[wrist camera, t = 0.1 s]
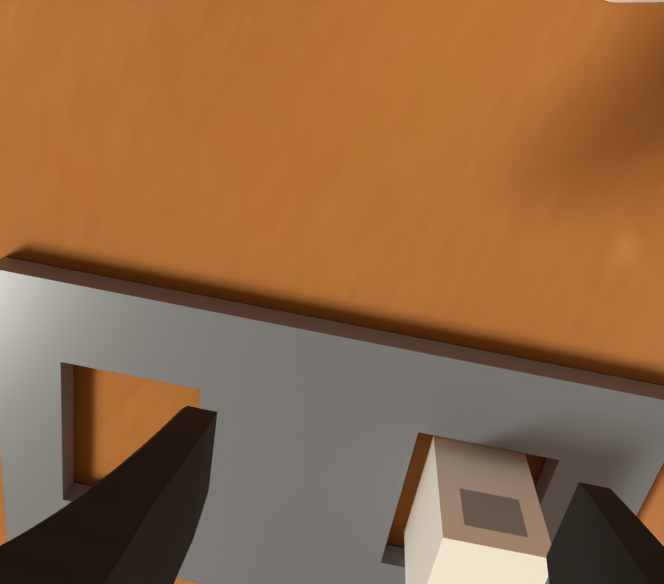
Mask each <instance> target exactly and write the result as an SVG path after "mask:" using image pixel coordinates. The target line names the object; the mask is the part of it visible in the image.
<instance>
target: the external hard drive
mask: <svg viewBox="0 0 664 584" xmlns="http://www.w3.org/2000/svg"><path fill="white" fill-rule="evenodd" d="M606 1H610V2H664V0H606Z"/></svg>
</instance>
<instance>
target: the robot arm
mask: <svg viewBox="0 0 664 584" xmlns="http://www.w3.org/2000/svg"><path fill="white" fill-rule="evenodd" d="M216 420H217V412H216V411H211V410H206V409H200V408H195V407H190V406H186V407H185V408H183V409H181V410H180V411H179V412H178V413H177V414H176V415H175V416H174V417H173V418H172V419H171V420H170V421H169V422H168V423H167V424H166V425H165V426H164V427H163V428H162V429H161V430H160V431H158V432H157V433H156V434H155V435H154V436H153V437H152V438H151V439H150V440H149V441H147V442H146V443H145V444H144V445H143V446H142V447H141V448H139V449H138V450H137V451H136V452H135V453H134V454H132V455H131V456H130V457H129V458H128V459H126V460H125V461H124V462H123V463H122V464H121V465H119V466H118V467H117V468H116V469H114V470H113V471H112V472H111V473H109V474H108V475H107V476H105V477H104V478H103V479H102V480H100V481H99V482H98V483H96V484H95V485H94V486H92V487H91V488H90V489H88V490H87V491H86V492H84V493H83V494H82V495H80V496H79V497H78V498H76V499H75V500H73V501H72V502H70V503H69V504H67V505H66V506H65V507H63V508H62V509H60V510H59V511H57V512H56V513H54V514H53V515H51V516H50V517H48V518H46V519H45V520H43V521H42V522H40V523H38V524H37V525H35V526H34V527H32V528H30V529H29V530H27V531H25V532H24V533H22V534H20V535H18V536H17V537H15V538H13V539H12V540H10V541H8V542H6V543H5V544H3V545H1V546H0V584H174V582H175V579H176V577H177V575H178V573H179V570H180V568H181V566H182V564H183V561H184V559H185V557H186V555H187V552H188V550H189V548H190V545H191V543H192V541H193V538H194V535H195V532H196V529H197V526H198V523H199V520H200V517H201V514H202V511H203V507H204V504H205V501H206V498H207V494H208V491H209V483H210V474H211V465H212V456H213V447H214V438H215V429H216ZM546 561H547V569H548V578H549V584H664V546H663V545H662V544H661V543H660V542H659V541H658V540H657V539H656V538H655V536H654V535H653V534H652V533H651V532H650V531H649V530H648V529H647V528H646V526H645V525H644V524H643V523H642V522H641V521H640V520H639V519H638V518H637V516H636V515H635V514H634V513H633V512H632V511H631V510H630V509H629V508H628V507H627V505H626V504H625V503H624V502H623V501H622V500H621V499H620V498H619V497H618V496H617V495H616V494H615V493H614V492H613V491H612V490H611V489H610V488H607V487H601V486H596V485H591V484H586V483H581V482H579V483H578V485H577V488H576V490H575V492H574V494H573V497H572V499H571V501H570V503H569V506H568V508H567V510H566V513H565V515H564V517H563V519H562V522H561V524H560V526H559V528H558V531H557V533H556V535H555V538H554V540H553V542H552V544H551V547H550V549H549V551H548V553H547V556H546Z"/></svg>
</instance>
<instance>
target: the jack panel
mask: <svg viewBox="0 0 664 584" xmlns="http://www.w3.org/2000/svg"><path fill="white" fill-rule="evenodd" d="M73 364H74V365H79V366H84V367H89V368H94V369H99V370H104V371H110V372H115V373H120V374H125V375H130V376H135V377H140V378H145V379H150V380H155V381H160V382H165V383H171V384H176V385H181V386H186V387H191V388H196V389H201V390H200V400H199V408H200V409H206V410H211V411H216V412H217V420H216V429H215V438H214V447H213V456H212V465H211V474H210V483H209V491H208V494H207V498H206V501H205V504H204V507H203V511H202V514H201V517H200V520H199V523H198V526H197V529H196V532H195V535H194V538H193V541H192V543H191V545H190V548H189V550H188V552H187V555H186V557H185V559H184V561H183V564H182V566H181V568H180V570H179V573H178V575H177V577H176V579H182V580H187V581H192V582H197V583H202V584H405V548H402V547H397V546H392V545H387V544H386V542H387V539H388V536H389V532H390V529H391V525H392V522H393V518H394V515H395V511H396V508H397V504H398V501H399V498H400V494H401V491H402V487H403V484H404V480H405V477H406V473H407V470H408V466H409V463H410V459H411V456H412V453H413V449H414V446H415V442H416V439H417V435H418V432H420V433H425V434H430V435H435V436H440V437H445V438H450V439H455V440H460V441H465V442H470V443H475V444H481V445H486V446H491V447H496V448H501V449H506V450H511V451H516V452H521V453H526V454H531V455H536V456H542V457H547V458H546V461H545V463H544V466H543V468H542V471H541V473H540V476H539V478H538V480H537V483H536V485H535V490H536V493H537V497H538V500H539V503H540V507H541V510H542V514H543V517H544V521H545V524H546V527H547V531H548V534H549V538H550V541H551V544H552V542H553V540H554V538H555V535H556V533H557V531H558V528H559V526H560V524H561V522H562V519H563V517H564V515H565V513H566V510H567V508H568V506H569V503H570V501H571V499H572V497H573V494H574V492H575V490H576V488H577V485H578V483H579V482H581V483H586V484H591V485H596V486H601V487H607V488H610V489H611V490H612V491H613V492H614V493H615V494H616V495H617V496H618V497H619V498H620V499H621V500H622V501H623V502H624V503H625V504H626V505H627V507H628V508H629V509H630V510H631V511H632V512H633V513H634V514H635V515H636V516H637V514H638V512H639V510H640V508H641V506H642V504H643V502H644V500H645V498H646V496H647V494H648V492H649V490H650V488H651V486H652V484H653V482H654V480H655V479H656V477H657V475H658V473H659V471H660V469H661V467H662V465H663V463H664V386H663V385H657V384H652V383H647V382H642V381H637V380H632V379H627V378H622V377H617V376H611V375H606V374H601V373H596V372H591V371H586V370H581V369H576V368H571V367H566V366H560V365H555V364H550V363H545V362H540V361H535V360H530V359H525V358H520V357H514V356H509V355H504V354H499V353H494V352H489V351H484V350H479V349H474V348H468V347H463V346H458V345H453V344H448V343H443V342H438V341H433V340H428V339H422V338H417V337H412V336H407V335H402V334H397V333H392V332H387V331H382V330H376V329H371V328H366V327H361V326H356V325H351V324H346V323H341V322H336V321H330V320H325V319H320V318H315V317H310V316H305V315H300V314H295V313H290V312H284V311H279V310H274V309H269V308H264V307H259V306H254V305H249V304H244V303H238V302H233V301H228V300H223V299H218V298H213V297H208V296H203V295H198V294H193V293H187V292H182V291H177V290H172V289H167V288H162V287H157V286H152V285H147V284H141V283H136V282H131V281H126V280H121V279H116V278H111V277H106V276H101V275H95V274H90V273H85V272H80V271H75V270H70V269H65V268H60V267H55V266H49V265H44V264H39V263H34V262H29V261H24V260H19V259H14V258H9V257H3V258H1V259H0V450H1V465H2V479H3V493H4V507H5V521H6V535H7V542H8V541H10V540H12V539H13V538H15V537H17V536H18V535H20V534H22V533H24V532H25V531H27V530H29V529H30V528H32V527H34V526H35V525H37V524H38V523H40V522H42V521H43V520H45V519H46V518H48V517H50V516H51V515H53V514H54V513H56V512H57V511H59V510H60V509H62V508H63V507H65V506H66V505H67V504H69V503H70V502H72V501H73V500H75V499H76V498H78V497H79V496H80V495H82V494H83V493H84V492H86V491H87V490H88V489H90V488H91V487H92V486H89V485H84V484H79V483H74V381H73ZM545 584H549V578H547V580H546V583H545Z"/></svg>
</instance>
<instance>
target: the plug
mask: <svg viewBox="0 0 664 584" xmlns="http://www.w3.org/2000/svg"><path fill="white" fill-rule="evenodd" d="M404 543H405V584H545V583H546V580H547V578H548V569H547V561H546V556H547V553H548V551H549V549H550V547H551V541H550V538H549V534H548V531H547V527H546V524H545V521H544V517H543V514H542V510H541V507H540V503H539V500H538V497H537V493H536V490H535V486H534V483H533V479H532V476H531V473H530V469H529V466H528V462H527V459H526V455H525V454H523V453H518V452H513V451H508V450H503V449H498V448H493V447H487V446H482V445H477V444H472V443H467V442H462V441H457V440H452V439H447V438H442V437H437V436H433V439H432V442H431V446H430V449H429V452H428V455H427V459H426V462H425V465H424V469H423V472H422V475H421V479H420V482H419V485H418V488H417V492H416V495H415V498H414V502H413V505H412V508H411V512H410V515H409V518H408V521H407V525H406V528H405V531H404Z"/></svg>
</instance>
